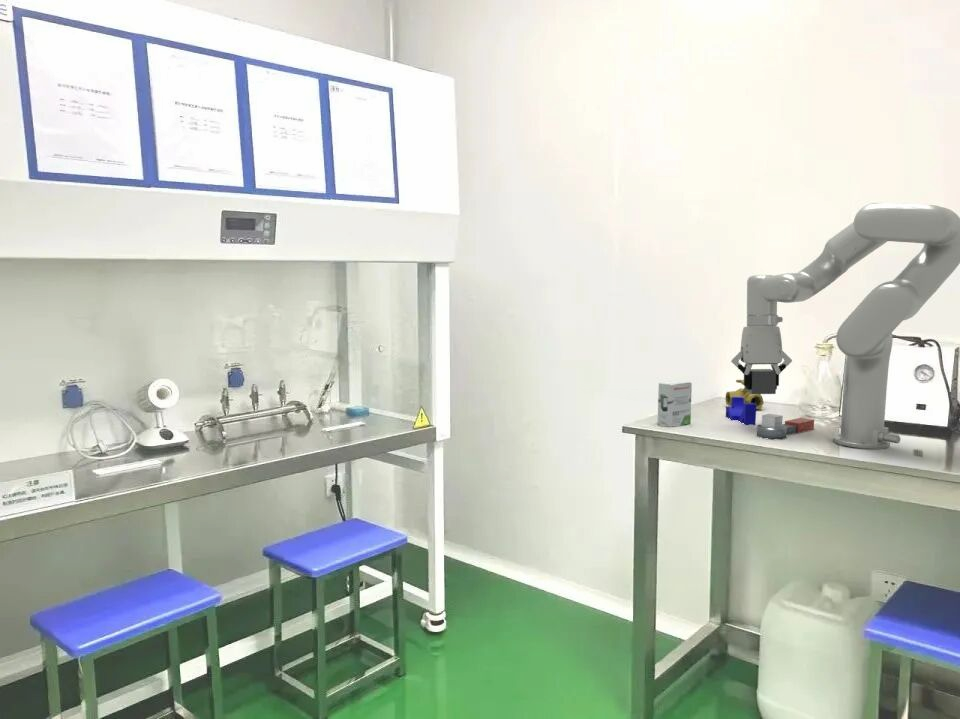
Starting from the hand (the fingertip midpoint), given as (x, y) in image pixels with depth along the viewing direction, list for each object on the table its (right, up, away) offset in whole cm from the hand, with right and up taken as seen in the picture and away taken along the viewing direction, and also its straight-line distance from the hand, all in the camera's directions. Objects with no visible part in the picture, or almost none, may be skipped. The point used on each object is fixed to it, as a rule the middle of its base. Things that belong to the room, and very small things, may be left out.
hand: (761, 388), depth 205 cm
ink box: (-21, -10, +7) cm, 25 cm away
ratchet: (+5, -12, -3) cm, 13 cm away
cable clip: (-1, -10, +13) cm, 16 cm away
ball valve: (+7, -7, +34) cm, 36 cm away
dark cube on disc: (0, -1, 0) cm, 1 cm away
